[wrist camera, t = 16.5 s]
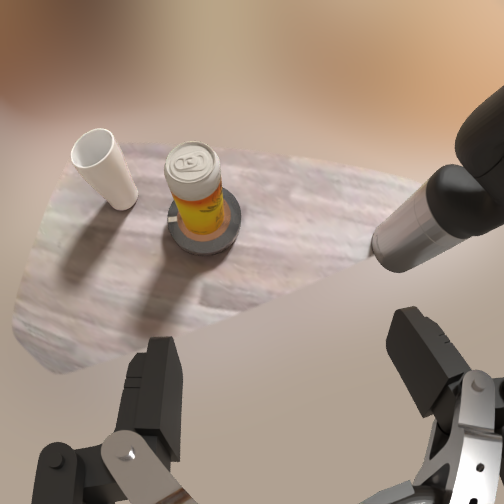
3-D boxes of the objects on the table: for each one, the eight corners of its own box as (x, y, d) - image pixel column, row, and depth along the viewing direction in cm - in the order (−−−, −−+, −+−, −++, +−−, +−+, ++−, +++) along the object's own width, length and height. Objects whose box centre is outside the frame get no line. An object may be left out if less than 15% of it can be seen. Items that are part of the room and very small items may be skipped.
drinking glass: (147, 182, 50) (121, 127, 35) (136, 218, 48) (103, 170, 33) (114, 178, 50) (81, 127, 35) (102, 213, 48) (62, 168, 33)
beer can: (227, 233, 44) (223, 180, 30) (186, 240, 44) (163, 191, 29) (220, 196, 46) (215, 134, 32) (181, 203, 45) (160, 144, 31)
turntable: (237, 186, 49) (237, 180, 47) (244, 251, 46) (245, 247, 44) (169, 193, 48) (167, 187, 46) (171, 259, 45) (168, 255, 43)
